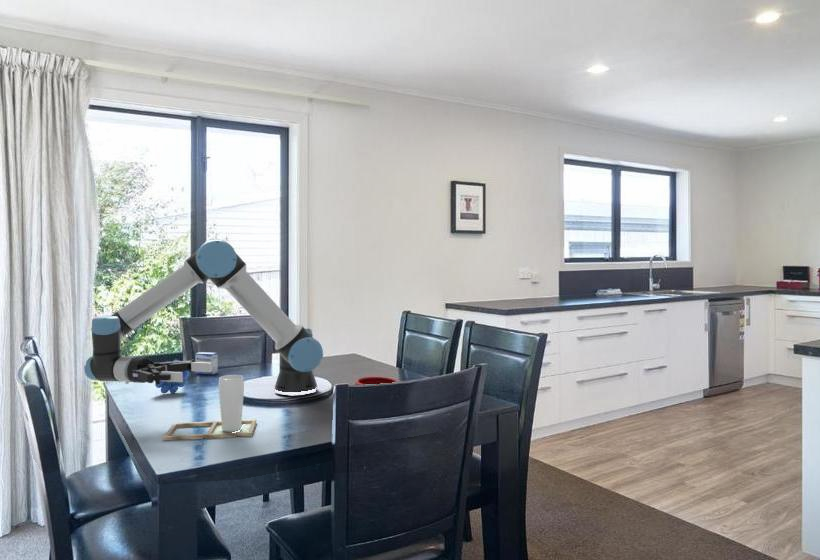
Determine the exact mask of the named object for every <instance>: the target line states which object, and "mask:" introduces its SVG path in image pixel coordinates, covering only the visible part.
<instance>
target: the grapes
mask: <svg viewBox="0 0 820 560" xmlns="http://www.w3.org/2000/svg"><path fill="white" fill-rule="evenodd" d="M178 361H180V359H179V360H178V359H174V360H173V361H172V362H178ZM180 372H183V382H163V381H161V380H160V384H155V383H154V384H155V387H156V388H157V389H160V392H161V393H162V394H167V393H168V392H169V393H170V394H175V393H176V392H177V391H179V388H184V387H185V386H186V383H187V381H186V379H187V378H189V376H190V371H180Z"/></svg>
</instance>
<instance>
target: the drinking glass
mask: <svg viewBox="0 0 820 560" xmlns="http://www.w3.org/2000/svg"><path fill="white" fill-rule="evenodd" d="M244 378H245V377H244V376H243V375H240V374H225V375H222V376H220V377H219V378H218V399H219V407H220V421H222V430H223V431H225V432H235V431H238V430H240V429H241V427H242V420H243V406H244V405H243V404H244V393H245V380H244Z"/></svg>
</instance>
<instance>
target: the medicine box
mask: <svg viewBox="0 0 820 560" xmlns="http://www.w3.org/2000/svg"><path fill="white" fill-rule="evenodd" d="M218 354H219V353H218V352H207V351H205V352H204V351H199V352H196V353H195V361H196V362H206V363H212V372H195V371H194V372H195V374H196V375H215V374H217V373H218V370H219V369H218V368H219V367H218V363H219V362H218V361H219V360H218Z"/></svg>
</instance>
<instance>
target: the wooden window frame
mask: <svg viewBox="0 0 820 560" xmlns="http://www.w3.org/2000/svg"><path fill="white" fill-rule="evenodd" d="M256 422H258V421H257V419H255V418H254V419H242V425H243V424H246V425H245V426H246V427H245V426H244V427H243V428H242V429H241V430H240V432H236V433H232V432H225V431H223V430H222V420H215V421H214V420H212V421H199V422H198V421H194V422H191V421H189V422H174V423H173V424H172V425H171V427H170V428H169V429H168V430H167V432H165V433H164V435H162V441H163V440H171V441H179V440H178V439H191V440H204V439H203V438H211V439H224V438H223V437H231V438H237V437H236V436H251V437H253V435H252V434H254V432H255V429H256V426H255V425H257V423H256ZM196 426H197V427H209V429H208V431H207V433H197V434H182V435H181V434H180V435H179V434H178V435H171V434H173V433H174V432H175V431H176V430H177V428H190V427H194V428H195V427H196ZM254 428H255V429H254ZM175 429H176V430H175ZM174 430H175V431H174ZM253 431H254V432H253ZM234 436H235V437H234Z"/></svg>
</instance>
